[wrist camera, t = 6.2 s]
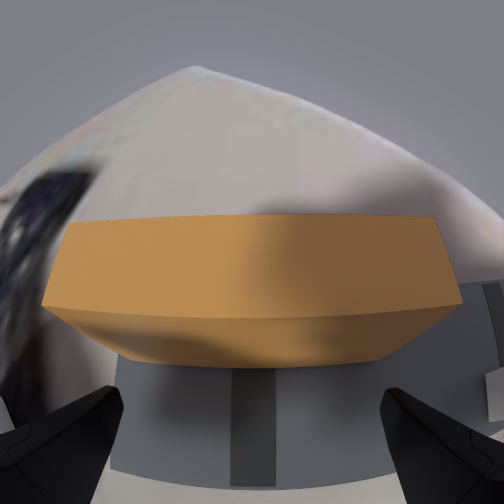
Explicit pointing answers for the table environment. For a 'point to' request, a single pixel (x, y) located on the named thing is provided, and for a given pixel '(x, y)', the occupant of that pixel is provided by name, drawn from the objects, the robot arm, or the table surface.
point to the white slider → (495, 394)
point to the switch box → (303, 408)
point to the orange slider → (253, 287)
